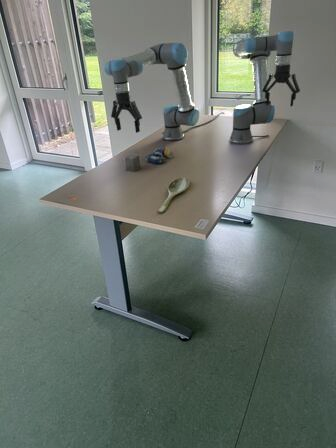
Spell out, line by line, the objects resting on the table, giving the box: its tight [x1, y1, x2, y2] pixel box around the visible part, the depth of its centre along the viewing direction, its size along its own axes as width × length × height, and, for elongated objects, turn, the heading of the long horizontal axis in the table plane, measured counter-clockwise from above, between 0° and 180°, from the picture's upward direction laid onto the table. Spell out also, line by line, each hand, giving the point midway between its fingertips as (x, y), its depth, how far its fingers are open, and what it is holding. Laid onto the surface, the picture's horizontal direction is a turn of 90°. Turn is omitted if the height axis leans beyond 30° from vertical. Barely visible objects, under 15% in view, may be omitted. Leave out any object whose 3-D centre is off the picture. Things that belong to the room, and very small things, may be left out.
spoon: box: [157, 177, 191, 213], centre depth 166 cm, size 35×11×2 cm, turn 159°
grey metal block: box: [124, 153, 141, 173], centre depth 199 cm, size 6×6×8 cm
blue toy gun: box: [144, 147, 175, 165], centre depth 212 cm, size 21×4×15 cm
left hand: (128, 131), depth 190 cm, fingers open, 13 cm apart
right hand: (279, 105), depth 190 cm, fingers open, 13 cm apart
